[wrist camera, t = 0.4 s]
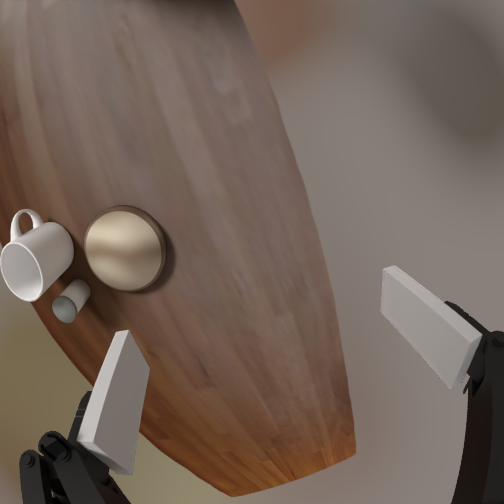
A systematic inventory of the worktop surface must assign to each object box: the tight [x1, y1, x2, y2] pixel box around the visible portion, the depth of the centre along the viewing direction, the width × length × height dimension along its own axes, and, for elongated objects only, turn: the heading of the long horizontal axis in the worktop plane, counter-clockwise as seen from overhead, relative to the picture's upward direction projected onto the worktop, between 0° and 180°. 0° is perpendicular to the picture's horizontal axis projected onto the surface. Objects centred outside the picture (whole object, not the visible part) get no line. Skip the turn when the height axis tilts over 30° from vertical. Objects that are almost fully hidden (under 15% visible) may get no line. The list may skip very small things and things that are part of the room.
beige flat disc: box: [84, 205, 167, 292], centre depth 37 cm, size 13×13×2 cm
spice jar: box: [52, 279, 90, 323], centre depth 35 cm, size 4×4×7 cm
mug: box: [0, 209, 74, 301], centre depth 30 cm, size 9×12×11 cm
